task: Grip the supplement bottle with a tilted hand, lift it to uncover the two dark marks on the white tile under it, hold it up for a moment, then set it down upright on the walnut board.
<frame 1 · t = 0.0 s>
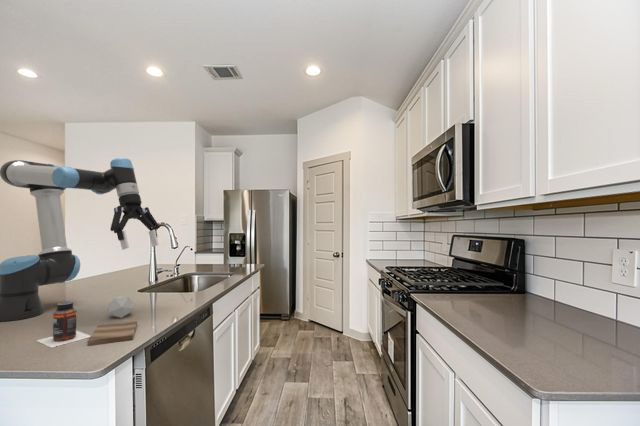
hand: (141, 247, 126), 28 cm above the countertop, tool tilted 20°, fingers open, 13 cm apart
walnut board: (114, 334, 108), on the countertop
die: (120, 316, 129), on the countertop
white tile: (64, 338, 104), on the countertop
supplement bottle: (64, 338, 104), resting on white tile
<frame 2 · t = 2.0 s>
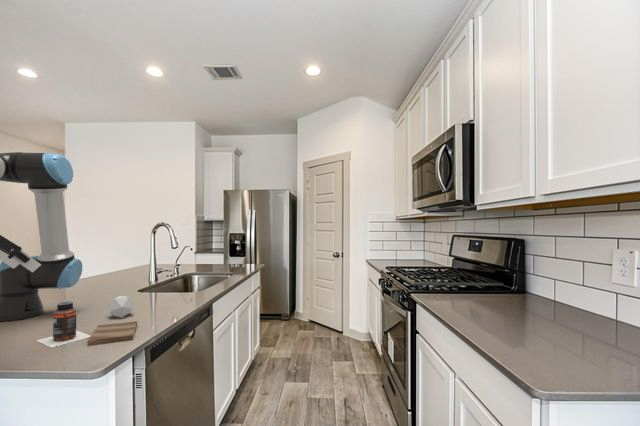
hand: (26, 266, 96), 24 cm above the countertop, tool tilted 45°, fingers open, 13 cm apart
nothing on the countertop moved.
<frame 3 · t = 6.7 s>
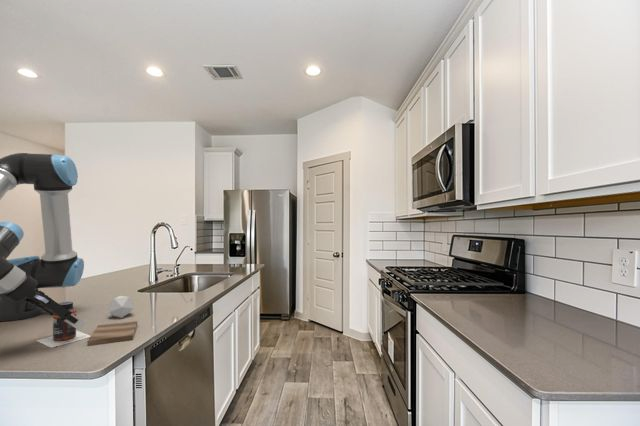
hand: (77, 325, 108), 3 cm above the countertop, tool tilted 45°, fingers closed on supplement bottle, 6 cm apart
supplement bottle: (64, 338, 104), resting on white tile, touching gripper
everything else where it was.
when the fingers open (6 cm above the countertop, at t = 13.5 s): supplement bottle drops 2 cm, resting on walnut board.
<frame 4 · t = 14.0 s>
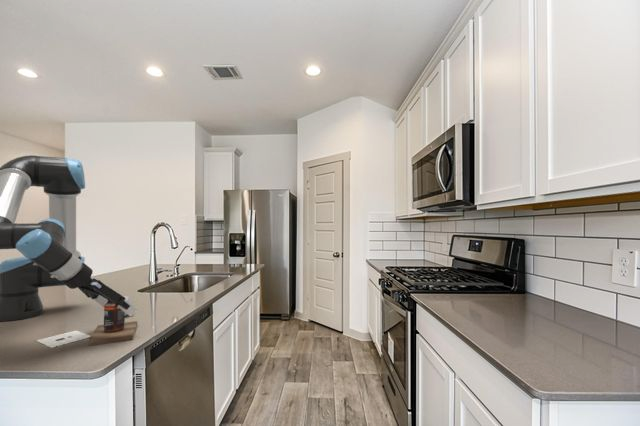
hand: (122, 310, 111), 8 cm above the countertop, tool tilted 45°, fingers open, 12 cm apart
supplement bottle: (114, 330, 108), point 1 cm above the countertop, touching walnut board
everything else where it was.
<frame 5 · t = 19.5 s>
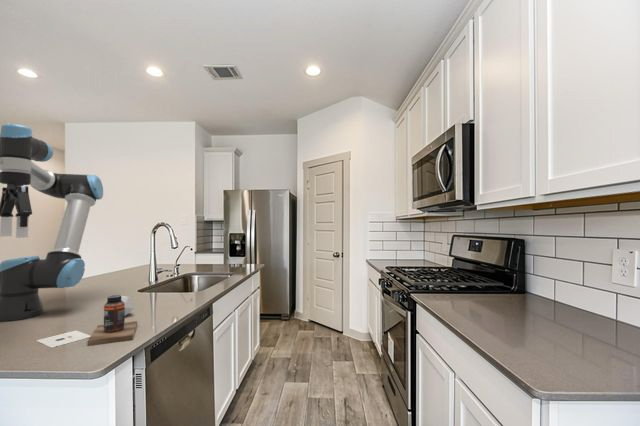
hand: (13, 237, 106), 33 cm above the countertop, tool pointing down, fingers open, 13 cm apart
nothing on the countertop moved.
at the end: supplement bottle inside the target area on the walnut board (0.2 cm from its centre), point 1.3 cm above the walnut board's base; supplement bottle tilted 0°; the gripper is holding nothing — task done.
